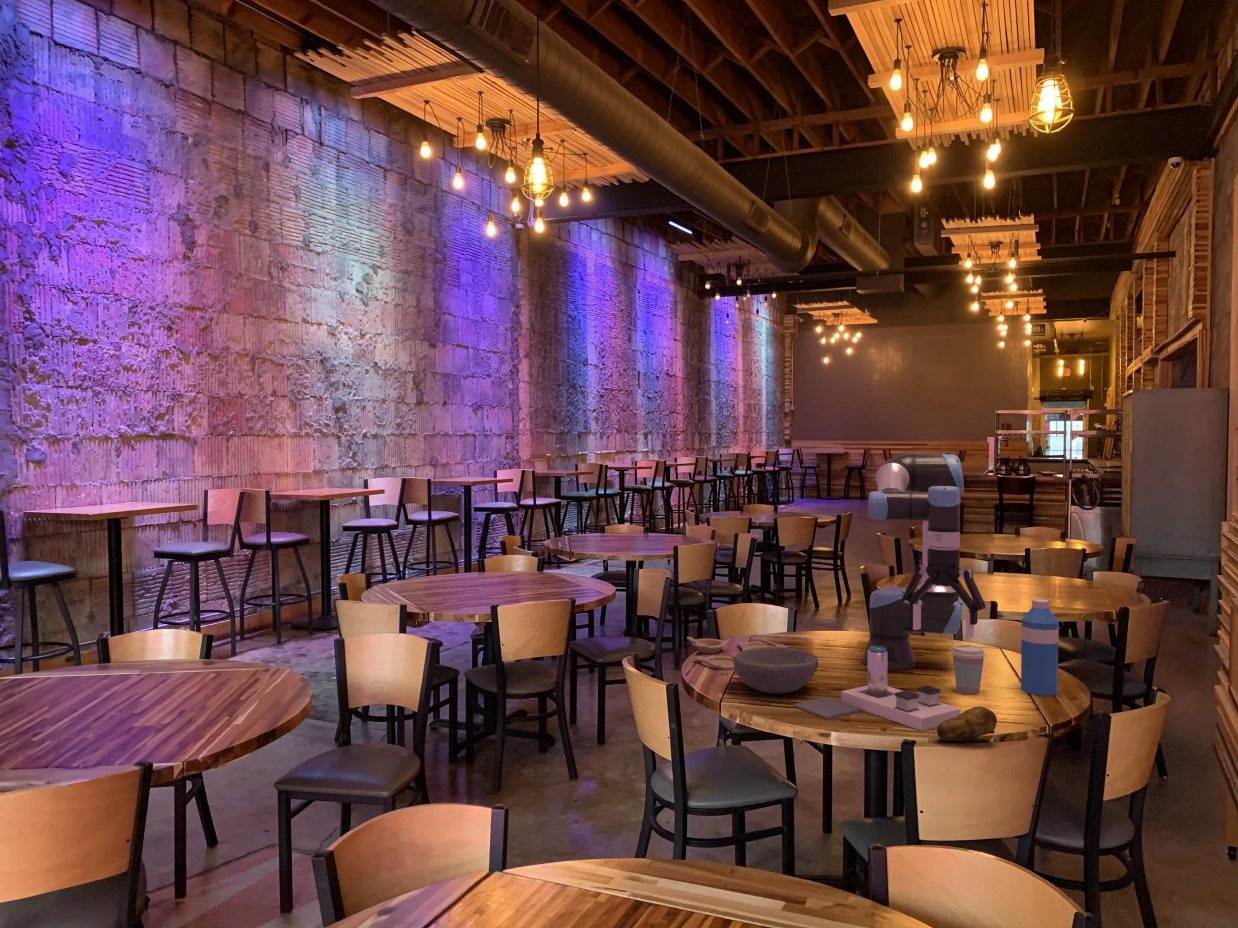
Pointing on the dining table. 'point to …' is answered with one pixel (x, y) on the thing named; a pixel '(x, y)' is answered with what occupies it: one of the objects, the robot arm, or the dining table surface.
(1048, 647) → the water bottle
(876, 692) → the cylinder
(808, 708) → the mat
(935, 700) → the dark topped block
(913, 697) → the plunger near
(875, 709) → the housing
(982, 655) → the coffee cup
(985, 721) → the potato
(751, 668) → the bowl
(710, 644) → the tableware set
